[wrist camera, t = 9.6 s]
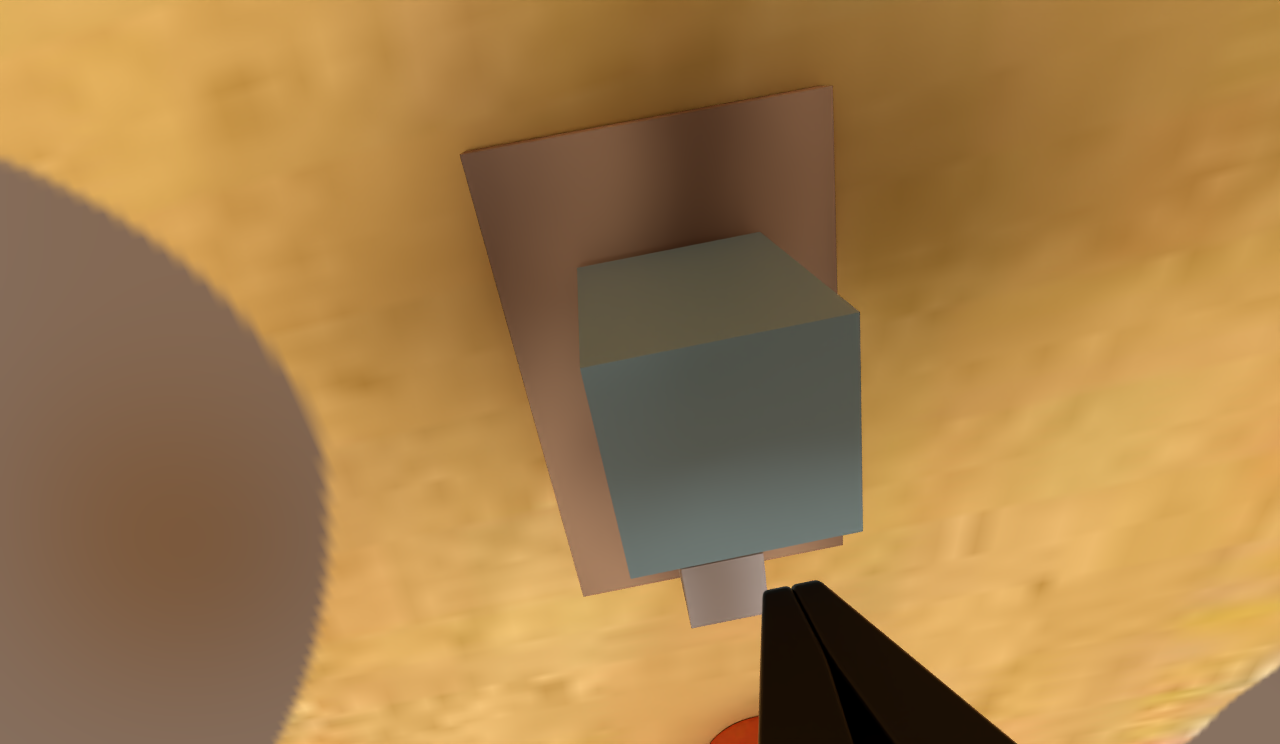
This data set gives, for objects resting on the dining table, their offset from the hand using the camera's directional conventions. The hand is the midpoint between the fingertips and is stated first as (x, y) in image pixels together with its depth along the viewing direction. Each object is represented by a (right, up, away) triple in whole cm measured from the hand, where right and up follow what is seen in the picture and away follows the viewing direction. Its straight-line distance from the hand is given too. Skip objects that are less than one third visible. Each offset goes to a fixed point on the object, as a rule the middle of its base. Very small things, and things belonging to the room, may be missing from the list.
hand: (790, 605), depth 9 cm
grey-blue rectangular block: (-1, +5, +9) cm, 10 cm away
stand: (-1, +3, +11) cm, 12 cm away
